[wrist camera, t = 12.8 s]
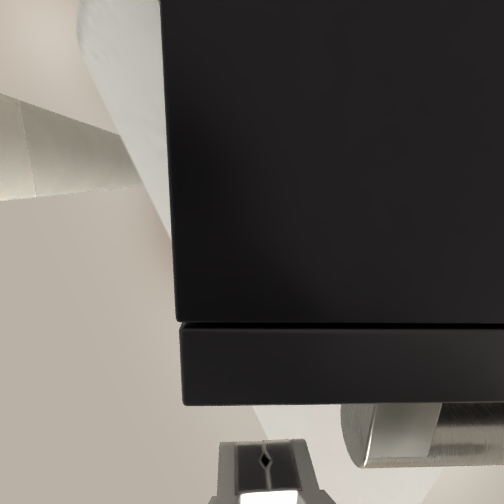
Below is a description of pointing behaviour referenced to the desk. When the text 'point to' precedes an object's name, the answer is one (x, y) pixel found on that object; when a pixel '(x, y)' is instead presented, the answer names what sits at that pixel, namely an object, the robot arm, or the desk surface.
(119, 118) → the desk surface
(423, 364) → the oven door
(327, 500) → the robot arm
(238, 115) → the oven
